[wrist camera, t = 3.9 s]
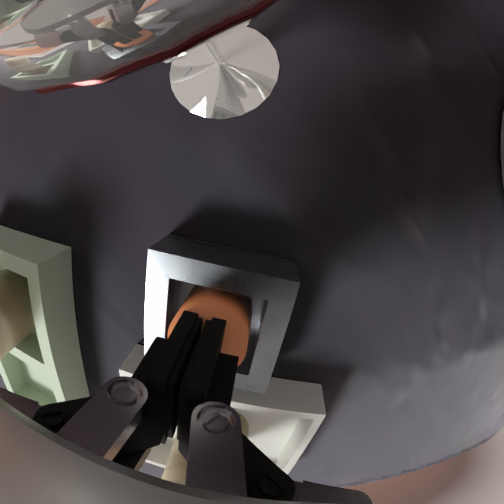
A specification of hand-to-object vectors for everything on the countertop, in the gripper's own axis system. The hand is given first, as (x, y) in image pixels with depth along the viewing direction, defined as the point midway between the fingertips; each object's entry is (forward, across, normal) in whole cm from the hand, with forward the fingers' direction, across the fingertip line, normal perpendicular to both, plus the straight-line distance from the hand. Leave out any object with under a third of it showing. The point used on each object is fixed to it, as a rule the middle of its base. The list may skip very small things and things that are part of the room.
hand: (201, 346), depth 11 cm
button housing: (+4, 0, 0) cm, 4 cm away
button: (+3, 0, 0) cm, 3 cm away
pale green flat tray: (+4, +13, +6) cm, 15 cm away
